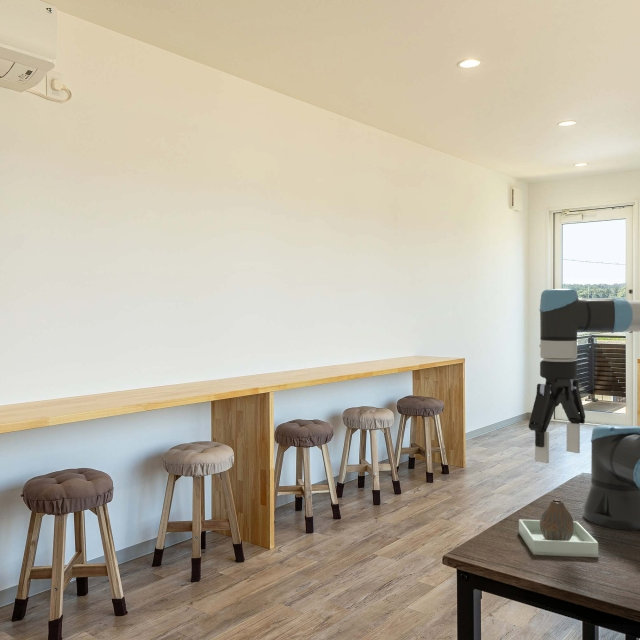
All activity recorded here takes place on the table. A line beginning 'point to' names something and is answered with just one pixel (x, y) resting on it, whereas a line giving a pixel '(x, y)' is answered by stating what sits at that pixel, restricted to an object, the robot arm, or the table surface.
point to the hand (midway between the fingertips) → (558, 457)
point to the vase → (556, 522)
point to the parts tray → (576, 546)
